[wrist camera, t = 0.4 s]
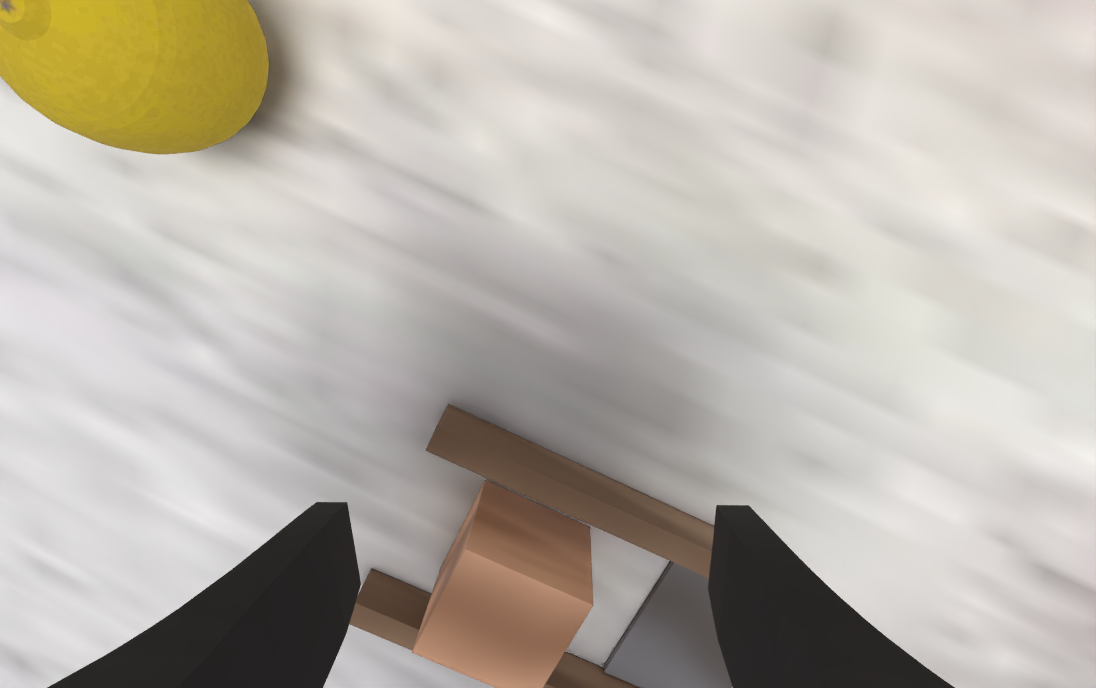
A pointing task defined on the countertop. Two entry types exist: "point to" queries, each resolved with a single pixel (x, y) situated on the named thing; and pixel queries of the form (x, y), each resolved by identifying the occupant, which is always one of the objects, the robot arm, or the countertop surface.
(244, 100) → the lemon
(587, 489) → the channel
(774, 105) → the countertop surface
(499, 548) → the block
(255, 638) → the robot arm
